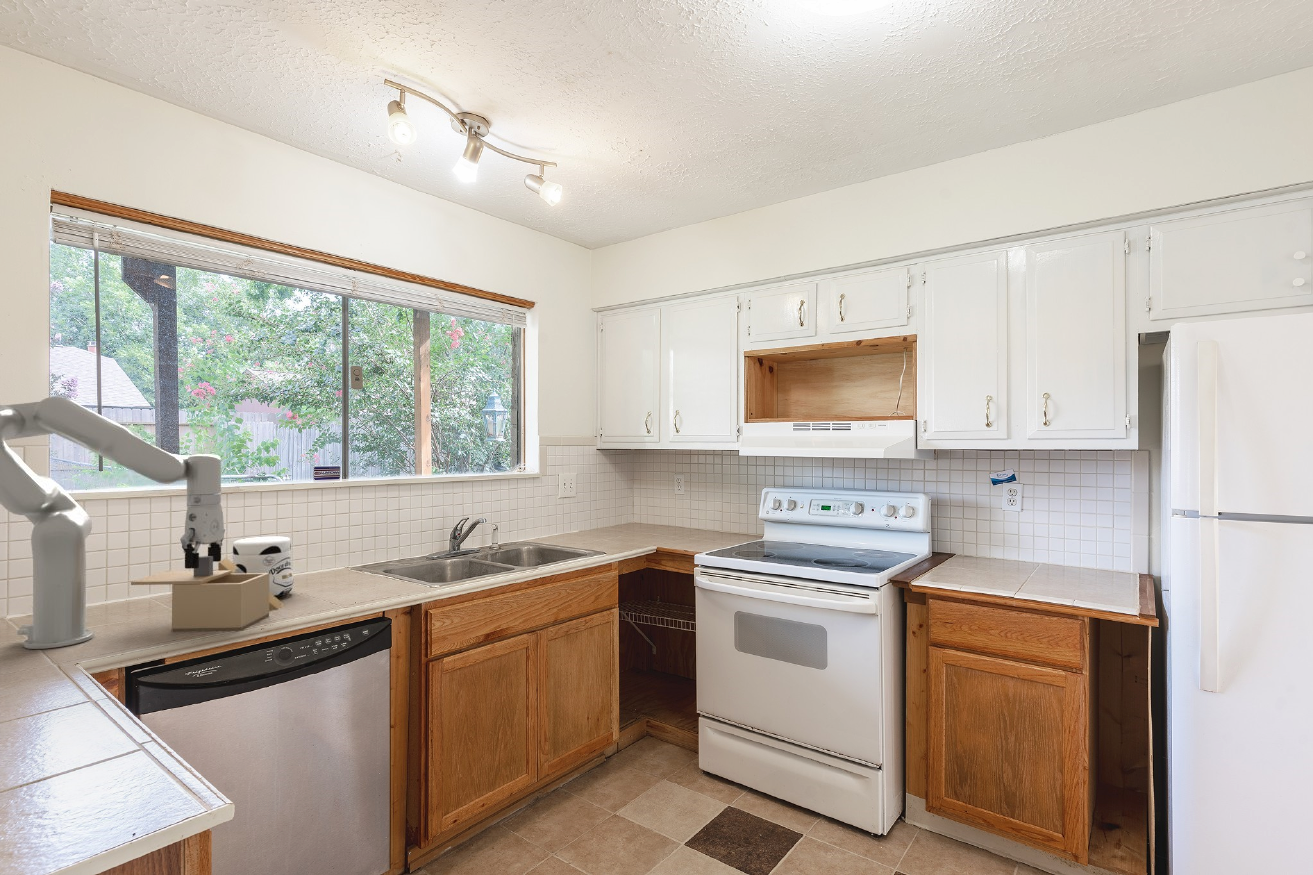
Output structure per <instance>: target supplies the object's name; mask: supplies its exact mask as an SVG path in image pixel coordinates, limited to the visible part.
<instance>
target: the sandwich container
mask: <svg viewBox="0 0 1313 875" xmlns="http://www.w3.org/2000/svg"><path fill="white" fill-rule="evenodd" d="M217 564H218V565H217V566H218V569H217V571H220V570H232V573H231V574H240V573H244V572H243V571H242V570H241V569H240V568H238V567H237V566H236V565H235V564H233V561H231V560H230V559H229V558H227V557H225V558H223V559H221V561H219V562H217ZM282 604H283V605H284V603H283V602H282V601H281V600H279V598H278V597H274V596H273V595H272V594H271V593H269V611H278V610H280V609H281V608H282V607H283V605H282ZM281 606H282V607H281ZM279 608H280V609H279Z"/></svg>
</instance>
